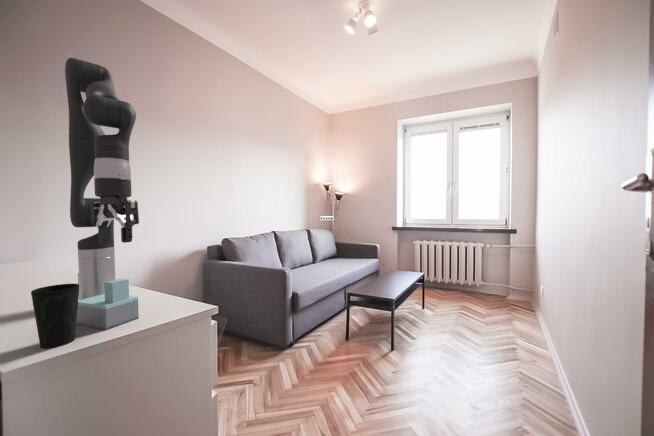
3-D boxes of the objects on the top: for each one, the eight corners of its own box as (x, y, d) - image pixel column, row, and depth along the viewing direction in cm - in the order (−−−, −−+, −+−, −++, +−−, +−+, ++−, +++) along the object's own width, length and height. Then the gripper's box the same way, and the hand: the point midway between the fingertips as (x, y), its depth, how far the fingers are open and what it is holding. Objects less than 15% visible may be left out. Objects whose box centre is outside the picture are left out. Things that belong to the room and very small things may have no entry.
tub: (75, 324, 74) (74, 304, 73) (108, 313, 81) (107, 295, 81) (106, 329, 69) (105, 309, 69) (138, 318, 77) (138, 299, 77)
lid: (74, 307, 74) (73, 282, 73) (108, 298, 81) (107, 275, 81) (105, 312, 69) (104, 285, 69) (138, 302, 77) (137, 277, 77)
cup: (77, 332, 68) (75, 281, 68) (85, 340, 63) (83, 286, 63) (30, 344, 62) (28, 289, 62) (35, 354, 58) (33, 294, 57)
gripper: (78, 178, 72) (80, 243, 72) (116, 174, 67) (119, 244, 67) (109, 181, 79) (112, 240, 79) (147, 177, 74) (149, 240, 74)
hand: (115, 242), depth 73 cm, fingers open, 8 cm apart
